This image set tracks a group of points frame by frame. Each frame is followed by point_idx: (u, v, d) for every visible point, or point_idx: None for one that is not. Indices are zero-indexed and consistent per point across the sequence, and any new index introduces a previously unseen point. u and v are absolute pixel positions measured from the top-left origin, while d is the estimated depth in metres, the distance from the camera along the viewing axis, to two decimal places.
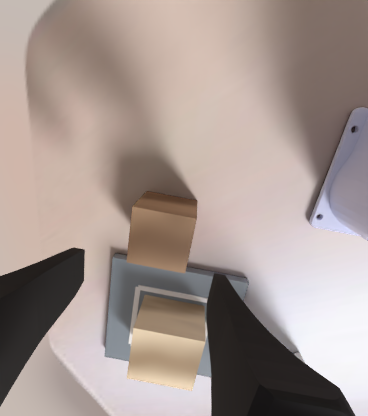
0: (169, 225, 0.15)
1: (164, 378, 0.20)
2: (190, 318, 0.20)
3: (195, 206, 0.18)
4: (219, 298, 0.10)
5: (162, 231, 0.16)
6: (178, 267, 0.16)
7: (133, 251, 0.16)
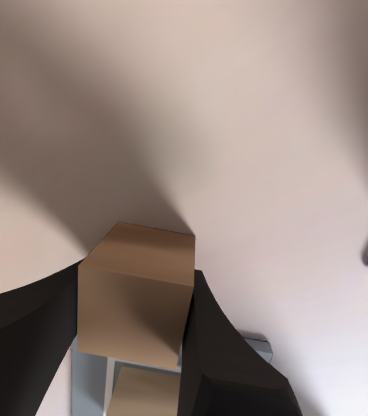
0: (145, 297, 0.09)
1: None
2: None
3: (192, 251, 0.11)
4: None
5: (135, 306, 0.09)
6: (164, 360, 0.10)
7: (86, 336, 0.10)
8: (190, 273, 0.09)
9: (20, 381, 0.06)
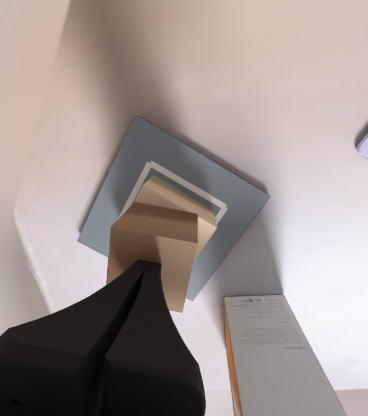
0: (160, 252, 0.12)
1: None
2: (200, 209, 0.18)
3: (195, 223, 0.14)
4: None
5: (152, 260, 0.12)
6: (173, 304, 0.13)
7: None
8: (194, 236, 0.12)
9: (96, 395, 0.06)
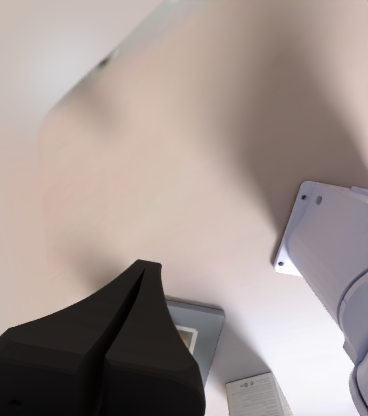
0: None
1: None
2: None
3: None
4: None
5: None
6: None
7: None
8: None
9: (96, 395, 0.06)
